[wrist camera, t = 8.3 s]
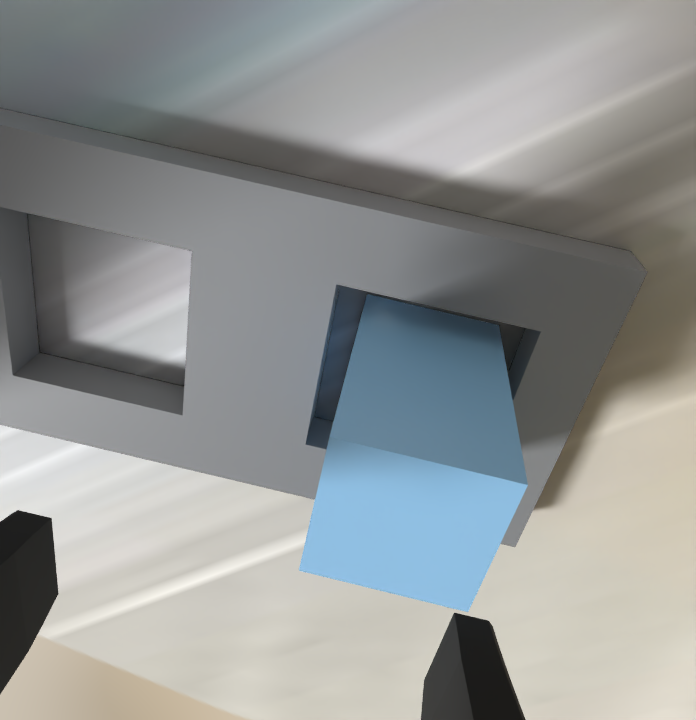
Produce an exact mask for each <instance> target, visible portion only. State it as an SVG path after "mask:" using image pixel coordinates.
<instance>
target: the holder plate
mask: <svg viewBox="0 0 696 720" xmlns="http://www.w3.org/2000/svg"><path fill="white" fill-rule="evenodd" d="M27 213H29V214H33V215H37V216H42V217H46V218H50V219H55V220H59V221H63V222H68V223H72V224H76V225H81V226H85V227H90V228H94V229H98V230H103V231H107V232H111V233H116V234H120V235H124V236H129V237H133V238H137V239H142V240H146V241H150V242H155V243H159V244H163V245H168V246H172V247H176V248H181V249H185V250H189V251H192V258H191V276H190V294H189V312H188V330H187V347H186V365H185V383H184V386H179V385H175V384H171V383H167V382H162V381H158V380H154V379H150V378H145V377H141V376H137V375H133V374H128V373H124V372H120V371H116V370H111V369H107V368H103V367H99V366H94V365H90V364H86V363H82V362H77V361H73V360H69V359H65V358H60V357H56V356H52V355H48V354H43V353H40V352H39V341H38V330H37V319H36V308H35V297H34V286H33V276H32V265H31V254H30V243H29V232H28V221H27ZM646 274H647V271H646V269H645V268H644V267H643V266H642V264H641V263H640V262H639V261H638V259H637V258H636V257H635V256H634V254H633V253H632V252H631V251H627V250H623V249H618V248H614V247H610V246H605V245H601V244H596V243H592V242H588V241H583V240H579V239H574V238H570V237H566V236H561V235H557V234H552V233H548V232H544V231H539V230H535V229H530V228H526V227H522V226H517V225H513V224H508V223H504V222H500V221H495V220H491V219H486V218H482V217H478V216H473V215H469V214H464V213H460V212H455V211H451V210H447V209H442V208H438V207H433V206H429V205H425V204H420V203H416V202H411V201H407V200H403V199H398V198H394V197H389V196H385V195H381V194H376V193H372V192H367V191H363V190H359V189H354V188H350V187H345V186H341V185H337V184H332V183H328V182H323V181H319V180H315V179H310V178H306V177H301V176H297V175H293V174H288V173H284V172H279V171H275V170H271V169H266V168H262V167H257V166H253V165H248V164H244V163H240V162H235V161H231V160H226V159H222V158H218V157H213V156H209V155H204V154H200V153H196V152H191V151H187V150H182V149H178V148H174V147H169V146H165V145H160V144H156V143H152V142H147V141H143V140H138V139H134V138H130V137H125V136H121V135H116V134H112V133H108V132H103V131H99V130H94V129H90V128H86V127H81V126H77V125H72V124H68V123H64V122H59V121H55V120H50V119H46V118H42V117H37V116H33V115H28V114H24V113H19V112H15V111H11V110H6V109H2V108H0V425H4V426H8V427H12V428H16V429H20V430H25V431H29V432H33V433H37V434H41V435H46V436H50V437H54V438H58V439H62V440H67V441H71V442H75V443H79V444H83V445H88V446H92V447H96V448H100V449H104V450H109V451H113V452H117V453H121V454H125V455H130V456H134V457H138V458H142V459H147V460H151V461H155V462H159V463H163V464H168V465H172V466H176V467H180V468H184V469H189V470H193V471H197V472H201V473H205V474H210V475H214V476H218V477H222V478H226V479H231V480H235V481H239V482H243V483H247V484H252V485H256V486H260V487H264V488H268V489H273V490H277V491H281V492H285V493H289V494H294V495H298V496H302V497H306V498H310V499H315V498H316V494H317V489H318V485H319V480H320V476H321V472H322V467H323V463H324V458H325V454H326V450H327V445H328V441H329V437H330V433H331V429H332V425H333V421H328V420H324V419H320V418H316V417H314V414H315V409H316V404H317V399H318V394H319V389H320V384H321V379H322V374H323V369H324V364H325V359H326V354H327V349H328V343H329V338H330V333H331V328H332V323H333V318H334V313H335V308H336V303H337V298H338V293H339V288H340V285H341V286H346V287H350V288H354V289H359V290H363V291H367V292H372V293H376V294H380V295H385V296H389V297H393V298H398V299H402V300H406V301H411V302H415V303H419V304H424V305H428V306H432V307H437V308H441V309H445V310H450V311H454V312H458V313H463V314H467V315H471V316H476V317H480V318H484V319H489V320H493V321H497V322H502V323H506V324H510V325H515V326H519V327H523V328H526V329H525V331H524V334H523V337H522V339H521V342H520V344H519V347H518V349H517V352H516V355H515V357H514V360H513V362H512V365H511V368H510V370H509V373H508V378H509V384H510V389H511V395H512V400H513V405H514V411H515V416H516V422H517V427H518V433H519V438H520V444H521V449H522V455H523V460H524V466H525V471H526V477H527V482H528V486H527V488H526V490H525V492H524V495H523V497H522V499H521V501H520V503H519V505H518V507H517V509H516V511H515V514H514V516H513V518H512V520H511V522H510V524H509V526H508V528H507V531H506V533H505V535H504V537H503V539H502V541H501V543H500V544H504V545H508V546H512V547H515V546H516V544H517V542H518V540H519V538H520V536H521V534H522V532H523V530H524V528H525V526H526V524H527V522H528V519H529V517H530V515H531V513H532V511H533V509H534V507H535V505H536V503H537V501H538V499H539V497H540V495H541V492H542V490H543V488H544V486H545V484H546V482H547V480H548V478H549V476H550V474H551V472H552V470H553V468H554V465H555V463H556V461H557V459H558V457H559V455H560V453H561V451H562V449H563V447H564V445H565V443H566V441H567V438H568V436H569V434H570V432H571V430H572V428H573V426H574V424H575V422H576V420H577V418H578V416H579V414H580V411H581V409H582V407H583V405H584V403H585V401H586V399H587V397H588V395H589V393H590V391H591V389H592V387H593V384H594V382H595V380H596V378H597V376H598V374H599V372H600V370H601V368H602V366H603V364H604V362H605V360H606V357H607V355H608V353H609V351H610V349H611V347H612V345H613V343H614V341H615V339H616V337H617V335H618V333H619V330H620V328H621V326H622V324H623V322H624V320H625V318H626V316H627V314H628V312H629V310H630V308H631V306H632V303H633V301H634V299H635V297H636V295H637V293H638V291H639V289H640V287H641V285H642V283H643V281H644V279H645V276H646Z"/></svg>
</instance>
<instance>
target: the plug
mask: <svg viewBox="0 0 696 720" xmlns="http://www.w3.org/2000/svg"><path fill="white" fill-rule="evenodd" d="M527 486H528V482H527V477H526V471H525V466H524V460H523V455H522V449H521V444H520V438H519V433H518V427H517V422H516V416H515V411H514V405H513V400H512V395H511V389H510V384H509V378H508V373H507V367H506V362H505V356H504V351H503V345H502V340H501V334H500V329H499V325H496V324H492V323H487V322H483V321H479V320H475V319H470V318H466V317H462V316H458V315H454V314H449V313H445V312H441V311H437V310H433V309H428V308H424V307H420V306H416V305H412V304H407V303H403V302H399V301H395V300H391V299H386V298H382V297H378V296H374V295H369V294H367V296H366V300H365V304H364V308H363V312H362V315H361V319H360V323H359V327H358V331H357V334H356V338H355V342H354V346H353V349H352V353H351V357H350V361H349V365H348V368H347V372H346V376H345V380H344V384H343V387H342V391H341V395H340V399H339V402H338V406H337V410H336V414H335V418H334V421H333V425H332V429H331V433H330V437H329V441H328V445H327V450H326V454H325V458H324V463H323V467H322V472H321V476H320V480H319V485H318V489H317V494H316V498H315V502H314V507H313V511H312V515H311V520H310V524H309V529H308V533H307V537H306V542H305V546H304V551H303V555H302V559H301V564H300V568H299V571H303V572H307V573H311V574H315V575H319V576H323V577H327V578H331V579H335V580H340V581H344V582H348V583H352V584H356V585H360V586H364V587H368V588H372V589H376V590H380V591H384V592H388V593H392V594H397V595H401V596H405V597H409V598H413V599H417V600H421V601H425V602H429V603H433V604H437V605H441V606H445V607H449V608H453V609H458V610H462V611H466V612H468V611H469V609H470V607H471V605H472V602H473V600H474V598H475V596H476V594H477V592H478V590H479V588H480V585H481V583H482V581H483V579H484V577H485V575H486V573H487V571H488V569H489V566H490V564H491V562H492V560H493V558H494V556H495V554H496V552H497V550H498V547H499V545H500V543H501V541H502V539H503V537H504V535H505V533H506V531H507V528H508V526H509V524H510V522H511V520H512V518H513V516H514V514H515V511H516V509H517V507H518V505H519V503H520V501H521V499H522V497H523V495H524V492H525V490H526V488H527Z"/></svg>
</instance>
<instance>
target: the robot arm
mask: <svg viewBox="0 0 696 720" xmlns="http://www.w3.org/2000/svg"><path fill="white" fill-rule="evenodd" d="M57 595H58V585H57V574H56V563H55V552H54V541H53V530H52V519H51V518H48V517H44V516H40V515H36V514H31V513H27V512H23V511H19V510H18V511H16V512H14V513H12V514H11V515H9V516H8V517H7V518H5V519H4V520H2V521H1V522H0V694H1V692H2V691H3V689H4V687H5V686H6V685H7V683H8V682H9V680H10V679H11V677H12V675H13V674H14V673H15V671H16V670H17V668H18V666H19V665H20V663H21V662H22V660H23V659H24V657H25V656H26V654H27V653H28V651H29V649H30V647H31V645H32V644H33V642H34V640H35V638H36V636H37V634H38V632H39V631H40V629H41V627H42V625H43V623H44V621H45V619H46V617H47V615H48V613H49V611H50V609H51V607H52V605H53V603H54V601H55V599H56V597H57ZM421 720H525V717H524V715H523V712H522V709H521V707H520V704H519V701H518V699H517V696H516V693H515V691H514V688H513V685H512V682H511V680H510V677H509V674H508V671H507V668H506V666H505V663H504V660H503V657H502V654H501V651H500V648H499V645H498V642H497V639H496V636H495V632H494V629H493V626H492V625H491V623H490V622H489V621H487V620H483V619H479V618H475V617H470V616H466V615H462V614H458V613H454V614H453V617H452V619H451V621H450V623H449V626H448V628H447V630H446V632H445V635H444V637H443V639H442V641H441V644H440V646H439V648H438V650H437V653H436V655H435V657H434V659H433V662H432V664H431V666H430V668H429V671H428V673H427V675H426V677H425V680H424V689H423V702H422V714H421Z"/></svg>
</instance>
